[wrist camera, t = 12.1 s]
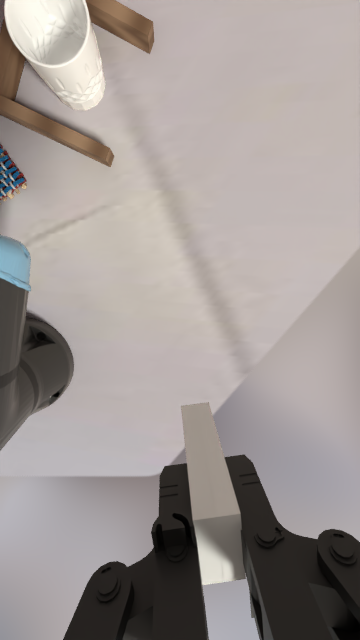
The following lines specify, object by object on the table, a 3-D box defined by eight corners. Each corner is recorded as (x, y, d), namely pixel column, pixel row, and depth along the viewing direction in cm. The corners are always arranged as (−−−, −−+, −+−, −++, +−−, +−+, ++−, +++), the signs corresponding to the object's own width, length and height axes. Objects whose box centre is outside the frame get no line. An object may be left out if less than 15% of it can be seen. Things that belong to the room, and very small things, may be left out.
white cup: (35, 71, 35) (-15, 2, 26) (84, 30, 34) (51, -57, 25) (75, 129, 37) (43, 85, 27) (122, 91, 36) (106, 32, 27)
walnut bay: (154, 41, 35) (153, 21, 32) (110, 167, 38) (105, 160, 35) (33, -26, 33) (21, -53, 30) (-2, 113, 36) (-17, 101, 33)
